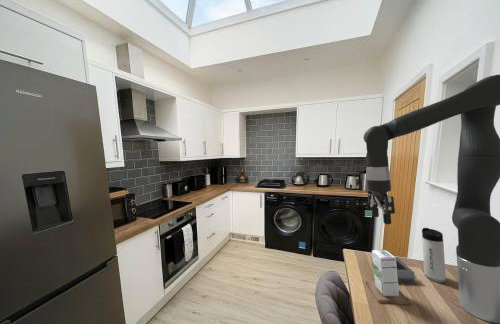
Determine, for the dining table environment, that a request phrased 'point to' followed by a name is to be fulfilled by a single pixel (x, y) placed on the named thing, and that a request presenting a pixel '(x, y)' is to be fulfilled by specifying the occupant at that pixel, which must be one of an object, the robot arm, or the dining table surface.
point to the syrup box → (385, 272)
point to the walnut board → (386, 299)
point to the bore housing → (403, 272)
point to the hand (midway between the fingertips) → (381, 220)
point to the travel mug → (433, 255)
